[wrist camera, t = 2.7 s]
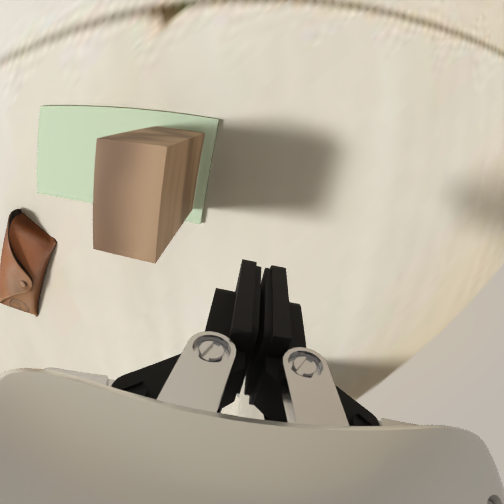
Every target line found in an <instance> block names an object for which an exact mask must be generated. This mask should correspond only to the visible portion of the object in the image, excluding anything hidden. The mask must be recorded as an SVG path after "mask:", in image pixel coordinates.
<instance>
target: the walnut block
mask: <svg viewBox="0 0 504 504" xmlns="http://www.w3.org/2000/svg"><path fill="white" fill-rule="evenodd" d="M204 138H205V133H204V132H198V131H191V130H185V129H178V128H170V127H162V126H154V127H148V128H143V129H138V130H133V131H128V132H123V133H118V134H114V135H109V136H105V137H101V138H97V141H96V153H95V167H94V187H93V249H96V250H100V251H105V252H109V253H113V254H117V255H121V256H126V257H130V258H134V259H138V260H143V261H147V262H152V263H156V262H157V260H158V259H159V257H160V256H161V254H162V253H163V251H164V250H165V248H166V247H167V245H168V244H169V242H170V241H171V240H172V238H173V237H174V235H175V234H176V232H177V231H178V229H179V228H180V227H181V225H182V224H183V222H184V221H185V220H186V218H187V217H188V215H189V214H190V213H191V211H192V210H193V206H194V199H195V192H196V186H197V179H198V173H199V167H200V161H201V155H202V149H203V144H204Z"/></svg>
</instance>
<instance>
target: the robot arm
mask: <svg viewBox="0 0 504 504" xmlns="http://www.w3.org/2000/svg"><path fill="white" fill-rule="evenodd" d="M236 395H237V396H238V397H239V407H238V416H233V415H227V414H222V413H221V410H222V408H223V407H225V406H227V405H229V404H230V403H232V402H234V400H235V397H236ZM0 504H504V488H503V485H502V482H501V479H500V476H499V473H498V470H497V468H496V465H495V462H494V460H493V458H492V456H491V454H490V452H489V450H488V448H487V446H486V444H485V443H484V441H483V440H482V439H481V438H480V437H479V436H478V435H476V434H474V433H472V432H470V431H468V430H464V429H461V428H457V427H451V426H444V425H416V424H411V423H405V422H400V421H394V420H389V419H384V418H382V419H381V420H380V421H378V420H377V418H376V417H375V416H374V415H373V414H372V413H370V412H369V411H368V410H367V409H365V408H364V407H363V406H361V405H360V404H359V403H357V402H356V401H355V400H354V399H352V398H351V397H350V396H348V395H347V394H346V393H344V392H343V391H342V390H341V389H339V388H338V387H337V386H335V384H334V381H333V378H332V376H331V373H330V370H329V367H328V365H327V363H326V361H325V359H324V358H323V357H322V356H321V355H320V354H319V353H317V352H315V351H314V350H311V349H308V348H306V342H305V334H304V326H303V319H302V312H301V306H300V304H296V303H290V302H289V297H288V286H287V275H286V268H283V267H278V266H273V265H271V267H270V269H269V268H265V270H264V274H263V278H262V281H261V267H259V266H256V262H253V261H248V260H243V259H242V264H241V268H240V273H239V277H238V282H237V287H236V291H235V292H233V291H228V290H223V289H218V288H216V290H215V294H214V298H213V302H212V306H211V310H210V313H209V317H208V321H207V325H206V329H205V331H204V332H200V333H197V334H195V335H193V336H192V337H191V338H190V339H189V341H188V343H187V344H186V346H185V348H184V350H183V352H182V353H181V354H179V355H176V356H174V357H171V358H169V359H166V360H164V361H161V362H158V363H156V364H153V365H150V366H148V367H145V368H142V369H139V370H137V371H134V372H131V373H128V374H125V375H123V376H121V377H119V378H117V379H116V380H111V379H108V376H105V375H97V374H90V373H83V372H77V371H70V370H64V369H59V368H45V369H32V368H20V369H12V370H9V371H6V372H4V373H2V374H0Z"/></svg>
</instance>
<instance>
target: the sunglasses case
mask: <svg viewBox="0 0 504 504" xmlns="http://www.w3.org/2000/svg"><path fill="white" fill-rule="evenodd" d="M55 246H56V240H55V239H54V238H53V237H51V236H49V235H48V234H47V233H46V232H45V231H44V230H42V229H41V228H40V227H39V226H38V225H37V224H35V223H34V222H33V221H32V220H31V219H29V218H28V217H27V216H26V215H25V214H24V213H22V212H21V209H16V210H14V211H12V212H11V214H10V215H9V219H8V225H7V229H6V233H5V238H4V244H3V249H2V256H1V264H0V303H2V304H4V305H7V306H10V307H13V308H16V309H18V310H21V311H24V312H28V313H31V314H34V315H35V316H36V317H37V316H38V305H39V298H40V292H41V288H42V284H43V280H44V276H45V273H46V269H47V265H48V262H49V259H50V257H51V254H52V252H53V250H54V248H55Z"/></svg>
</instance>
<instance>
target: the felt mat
mask: <svg viewBox="0 0 504 504" xmlns="http://www.w3.org/2000/svg"><path fill="white" fill-rule="evenodd" d="M218 122H219V119H214V118H207V117H201V116H194V115H187V114H179V113H171V112H162V111H153V110H142V109H130V108H116V107H97V106H40V116H39V128H38V146H37V193H39V194H44V195H50V196H56V197H61V198H67V199H72V200H78V201H83V202H89V203H93V187H94V167H95V153H96V141H97V138H101V137H105V136H109V135H114V134H118V133H123V132H128V131H133V130H138V129H143V128H148V127H154V126H162V127H170V128H178V129H185V130H191V131H198V132H204V133H205V138H204V144H203V149H202V155H201V161H200V167H199V173H198V179H197V186H196V192H195V199H194V206H193V210H192V211H191V213H190V214H189V215H188V217H187V218H186V220H185V221H187V222H192V223H197V224H201V220H202V213H203V207H204V200H205V194H206V188H207V182H208V176H209V171H210V165H211V159H212V154H213V148H214V143H215V138H216V132H217V127H218Z"/></svg>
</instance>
